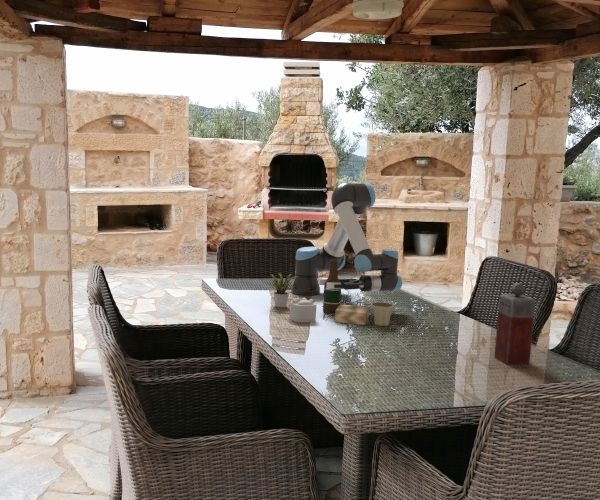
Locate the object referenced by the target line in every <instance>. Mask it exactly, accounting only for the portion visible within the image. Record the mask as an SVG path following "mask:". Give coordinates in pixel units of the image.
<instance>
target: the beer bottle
mask: <svg viewBox="0 0 600 500" xmlns="http://www.w3.org/2000/svg"><path fill="white" fill-rule="evenodd" d="M337 263H338V260H335V259H332V260H330V271H328V272H329V273H328V278H326V279H327V280H326V281H325V284H324V285H323V296H322V297H323V299H322V312H323V313H326V314H331V315H333V314H334V315H335V311H336V309H337V308H338V306H339V305H340V304H341V302H342V301H341V299H342V289H326V288H327V283H340V280H339V279H338V278H339V275H338V271H339V270H337Z"/></svg>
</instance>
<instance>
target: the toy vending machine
mask: <svg viewBox="0 0 600 500" xmlns="http://www.w3.org/2000/svg"><path fill="white" fill-rule="evenodd" d="M510 291H511V293H512V294H511V293H508V294H507V293H506V294H505V293H502V294H500V295H499V299H498V300H499V302H498V310H497V311H498V312H497V324H496V335H495V345H494V346H495V347H494V355H493V357H494V358H495V359H496V360H498V361H499V362H501V363H503V364H504V365H506V366H515V365H516V366H519V365H520V366H521V365H530V362H531V353H532V352H531V350H532V340H533V332H534V331H533V330H534V329H533V328H534V320H535V318H534V317H535V310H536V309H535V308H536V307H535V306H536V300H535V299H534V298H533V297H529V296H528V295H527V296H526V295H524V293H525V292H526V287H525V286H524V284H522V283H518V282H515V283H513V284H512V285H511V288H510Z"/></svg>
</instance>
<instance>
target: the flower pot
mask: <svg viewBox="0 0 600 500" xmlns="http://www.w3.org/2000/svg"><path fill="white" fill-rule="evenodd" d="M371 306H372V307H371V308H372V311H373V324H374V325H375V326H380V327H382V326H385V327H387V326H389V325H390V319H391V315H392V311H393V309H394V307H395V304H393V303H391V302H390V303H389V302H383V301H382V302H381V301H379V302H377V301H376V302H375V301H374V302H372V303H371Z"/></svg>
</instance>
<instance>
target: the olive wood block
mask: <svg viewBox="0 0 600 500" xmlns="http://www.w3.org/2000/svg"><path fill="white" fill-rule="evenodd" d="M369 315H370V306H363V305H362V306H361V305H352V304H351V305H350V304H341V303H340V305H339V306H338V308H337V309H336V311H335V314H334V323H343V324H353V325H354V324H355V325H363V326H365V325H366V324H367V322H368V320H369V318H370V317H369Z"/></svg>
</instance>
